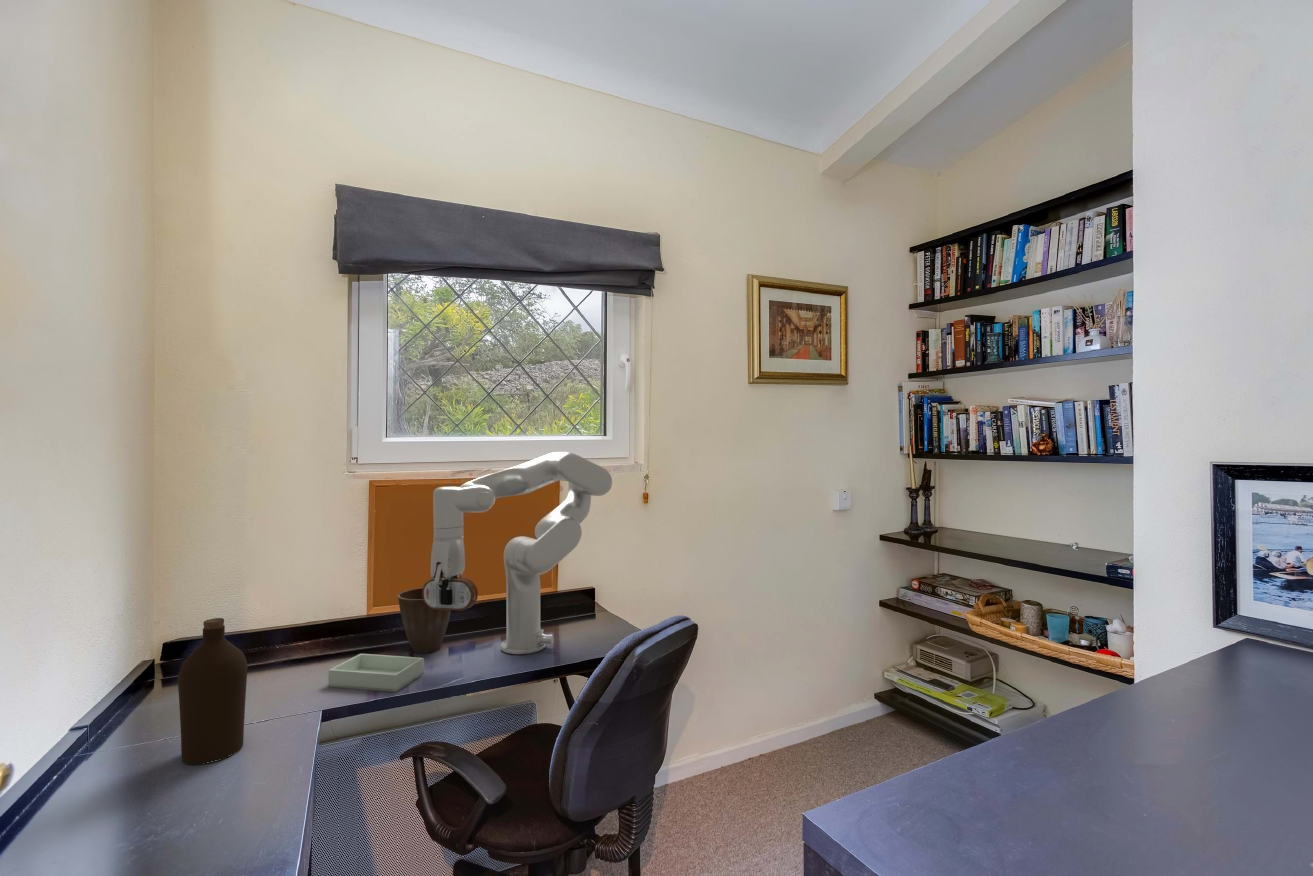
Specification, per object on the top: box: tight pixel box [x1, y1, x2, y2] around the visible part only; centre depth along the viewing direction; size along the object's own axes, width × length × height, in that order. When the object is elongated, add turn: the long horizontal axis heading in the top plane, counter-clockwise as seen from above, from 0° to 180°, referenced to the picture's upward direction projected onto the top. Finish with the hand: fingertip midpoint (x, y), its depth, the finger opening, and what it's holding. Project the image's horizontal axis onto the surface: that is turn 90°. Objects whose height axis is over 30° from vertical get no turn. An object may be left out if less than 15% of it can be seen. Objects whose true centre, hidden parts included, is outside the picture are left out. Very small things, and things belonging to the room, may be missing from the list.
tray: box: [327, 653, 425, 693], centre depth 148 cm, size 18×12×4 cm, turn 79°
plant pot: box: [397, 587, 452, 654], centre depth 171 cm, size 15×15×16 cm
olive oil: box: [177, 617, 249, 766], centre depth 114 cm, size 11×11×25 cm
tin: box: [422, 577, 479, 612], centre depth 159 cm, size 15×3×8 cm, turn 79°
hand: (449, 602), depth 159 cm, fingers closed on tin, 2 cm apart
